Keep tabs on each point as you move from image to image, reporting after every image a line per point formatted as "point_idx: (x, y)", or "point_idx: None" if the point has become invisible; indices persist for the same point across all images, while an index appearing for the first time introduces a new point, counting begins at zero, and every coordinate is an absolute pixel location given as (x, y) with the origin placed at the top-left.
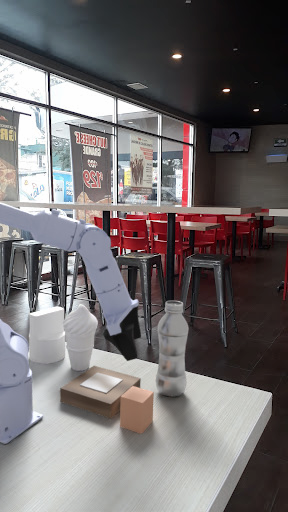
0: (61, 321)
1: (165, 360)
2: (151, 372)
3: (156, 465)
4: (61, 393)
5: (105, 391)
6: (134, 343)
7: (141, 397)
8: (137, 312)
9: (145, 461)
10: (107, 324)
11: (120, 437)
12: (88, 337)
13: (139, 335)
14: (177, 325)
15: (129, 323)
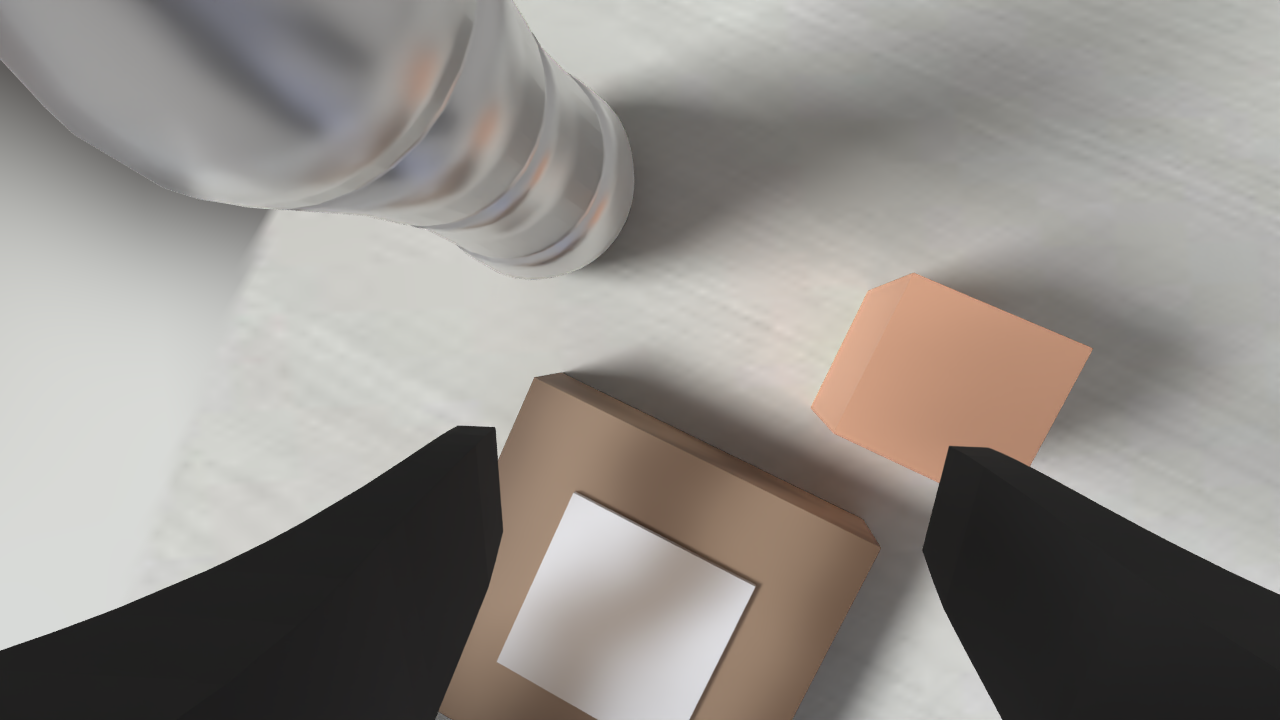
0: None
1: (542, 176)
2: (339, 314)
3: (1275, 258)
4: None
5: (740, 593)
6: (1129, 548)
7: (1008, 360)
8: (217, 645)
9: (1244, 315)
10: None
11: (1036, 455)
12: None
13: (485, 450)
14: None
15: (399, 677)
